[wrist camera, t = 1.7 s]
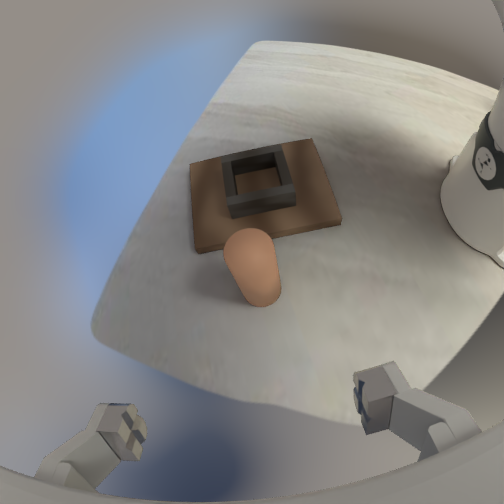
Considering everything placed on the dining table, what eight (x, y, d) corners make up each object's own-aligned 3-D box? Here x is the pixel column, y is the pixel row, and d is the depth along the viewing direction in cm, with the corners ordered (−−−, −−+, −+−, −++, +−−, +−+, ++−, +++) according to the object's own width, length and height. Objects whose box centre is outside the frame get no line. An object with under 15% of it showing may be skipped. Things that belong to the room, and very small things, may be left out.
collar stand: (311, 145, 44) (311, 123, 40) (340, 224, 38) (344, 204, 34) (192, 170, 45) (183, 150, 41) (198, 254, 39) (187, 237, 35)
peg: (277, 267, 37) (269, 223, 28) (284, 302, 35) (278, 268, 26) (240, 274, 37) (220, 233, 28) (245, 310, 35) (226, 279, 26)
